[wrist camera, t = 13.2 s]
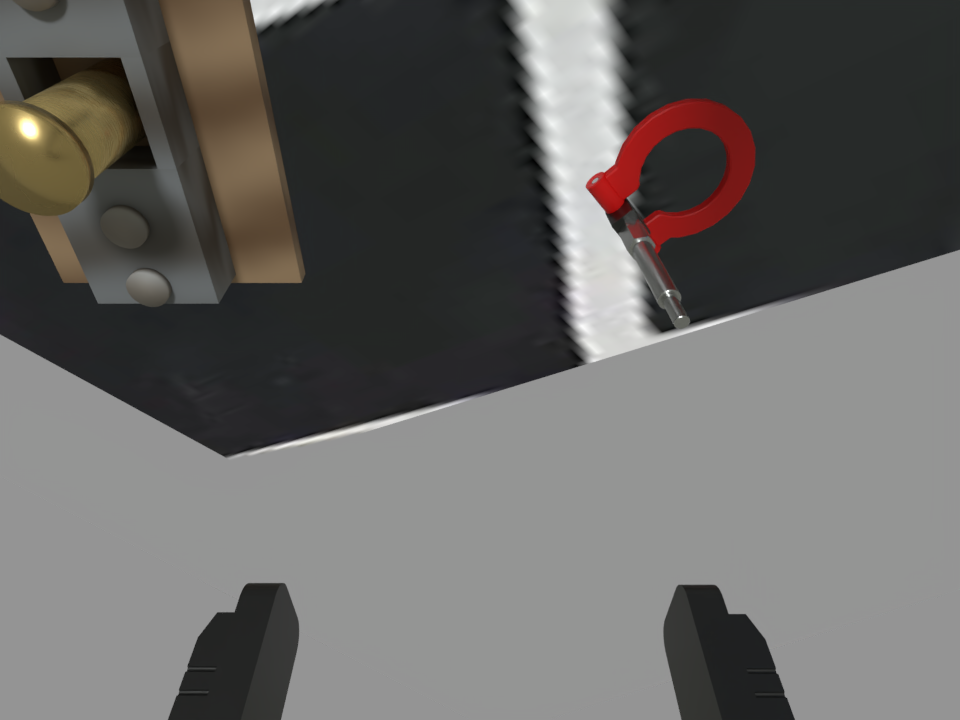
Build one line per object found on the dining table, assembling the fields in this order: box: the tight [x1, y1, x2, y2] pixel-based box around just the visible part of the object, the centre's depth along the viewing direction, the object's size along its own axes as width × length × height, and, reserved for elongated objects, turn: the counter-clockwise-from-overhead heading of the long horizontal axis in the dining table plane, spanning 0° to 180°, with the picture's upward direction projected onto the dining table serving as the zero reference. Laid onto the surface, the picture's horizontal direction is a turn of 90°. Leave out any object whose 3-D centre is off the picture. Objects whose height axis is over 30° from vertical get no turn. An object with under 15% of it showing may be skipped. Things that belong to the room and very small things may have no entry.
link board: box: [0, 0, 305, 307], centre depth 33 cm, size 24×16×5 cm, turn 0°
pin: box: [0, 58, 147, 216], centre depth 30 cm, size 5×5×10 cm
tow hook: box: [586, 99, 755, 329], centre depth 33 cm, size 8×13×9 cm
